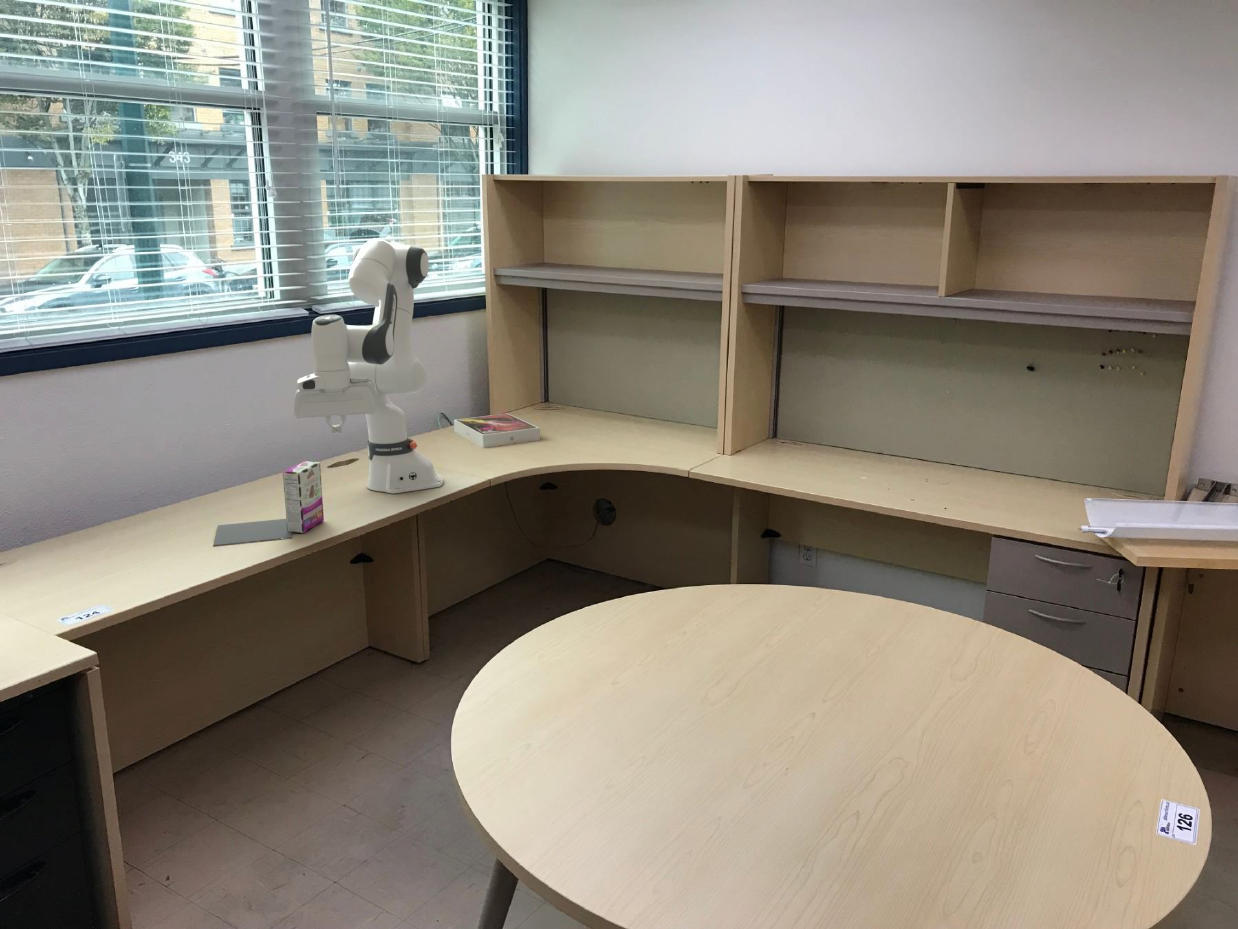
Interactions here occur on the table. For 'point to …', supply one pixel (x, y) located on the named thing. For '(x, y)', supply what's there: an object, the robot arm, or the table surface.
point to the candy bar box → (303, 496)
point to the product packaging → (496, 430)
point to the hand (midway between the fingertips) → (336, 432)
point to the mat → (251, 532)
